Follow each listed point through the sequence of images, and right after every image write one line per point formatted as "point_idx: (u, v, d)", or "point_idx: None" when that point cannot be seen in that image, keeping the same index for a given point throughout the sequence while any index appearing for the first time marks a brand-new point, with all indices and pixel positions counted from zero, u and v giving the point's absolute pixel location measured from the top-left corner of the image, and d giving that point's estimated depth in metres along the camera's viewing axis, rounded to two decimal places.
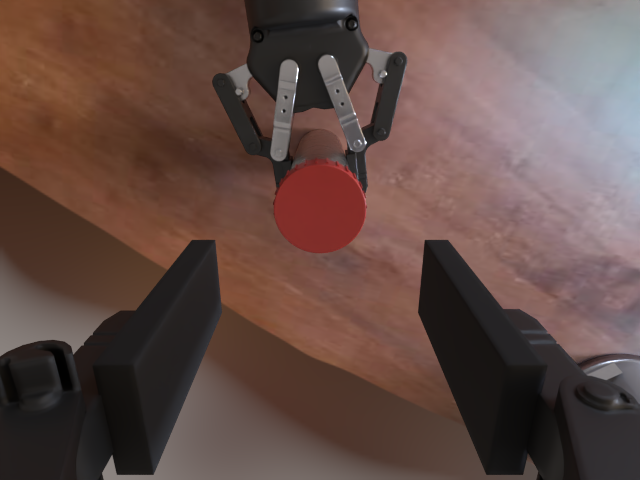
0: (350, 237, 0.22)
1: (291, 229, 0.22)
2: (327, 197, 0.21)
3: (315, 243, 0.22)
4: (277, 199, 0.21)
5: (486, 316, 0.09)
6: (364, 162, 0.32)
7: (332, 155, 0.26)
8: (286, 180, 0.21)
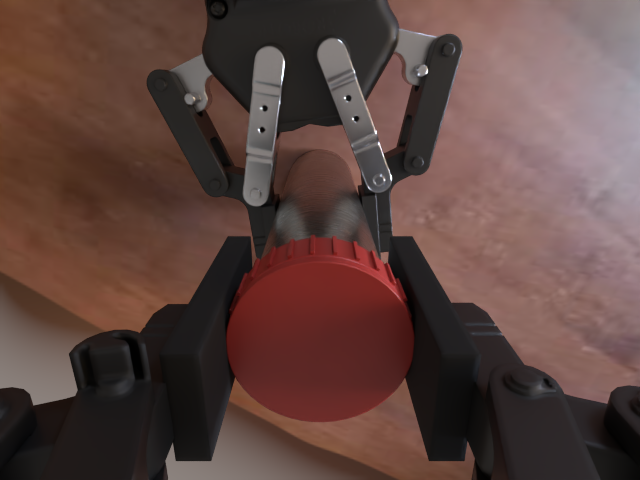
0: (381, 395, 0.11)
1: (262, 381, 0.11)
2: (335, 324, 0.10)
3: (312, 406, 0.11)
4: (232, 327, 0.10)
5: (432, 308, 0.10)
6: (388, 207, 0.21)
7: (342, 212, 0.15)
8: (249, 292, 0.10)
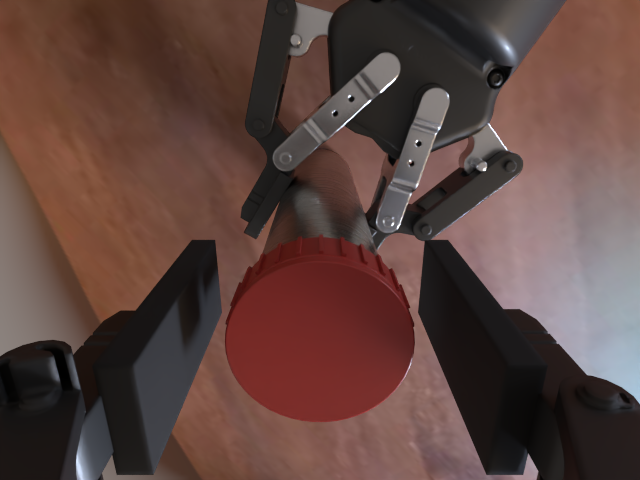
0: (404, 323, 0.10)
1: (326, 405, 0.11)
2: (302, 324, 0.10)
3: (376, 382, 0.11)
4: (260, 399, 0.11)
5: (486, 316, 0.09)
6: (376, 246, 0.22)
7: (370, 234, 0.15)
8: (234, 372, 0.11)
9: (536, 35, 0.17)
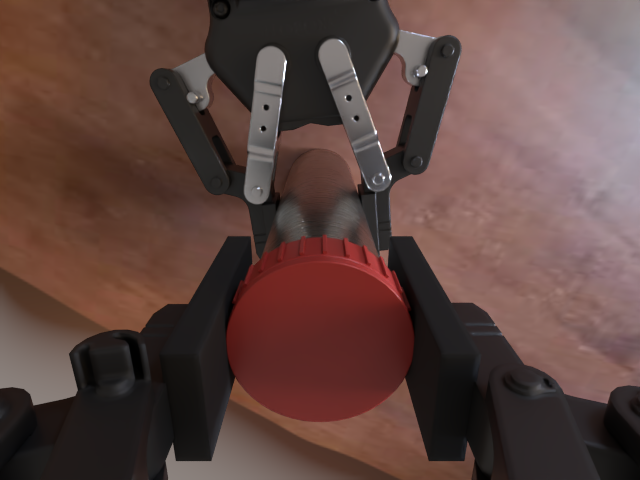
0: (370, 282, 0.10)
1: (368, 390, 0.11)
2: (289, 339, 0.10)
3: (392, 345, 0.11)
4: (311, 418, 0.11)
5: (432, 308, 0.10)
6: (387, 206, 0.21)
7: (342, 210, 0.15)
8: (271, 409, 0.11)
9: None
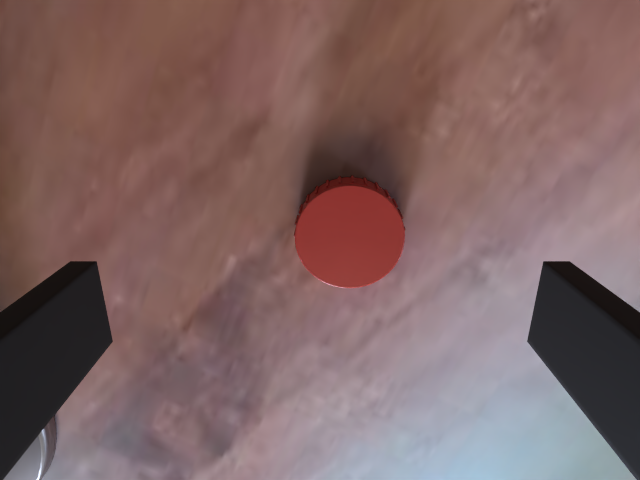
0: (378, 198, 0.18)
1: (377, 267, 0.19)
2: (332, 233, 0.18)
3: (391, 237, 0.18)
4: (343, 285, 0.19)
5: None
6: None
7: None
8: (320, 278, 0.19)
9: None
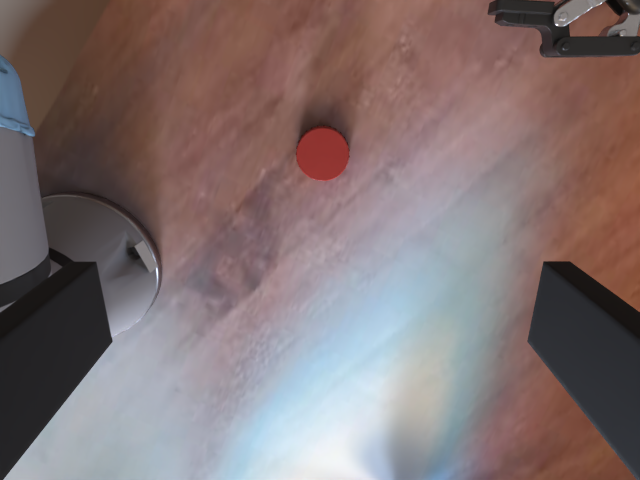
0: (336, 134, 0.37)
1: (336, 169, 0.39)
2: (314, 152, 0.38)
3: (342, 154, 0.38)
4: (320, 179, 0.39)
5: None
6: (535, 23, 0.29)
7: None
8: (308, 176, 0.39)
9: None
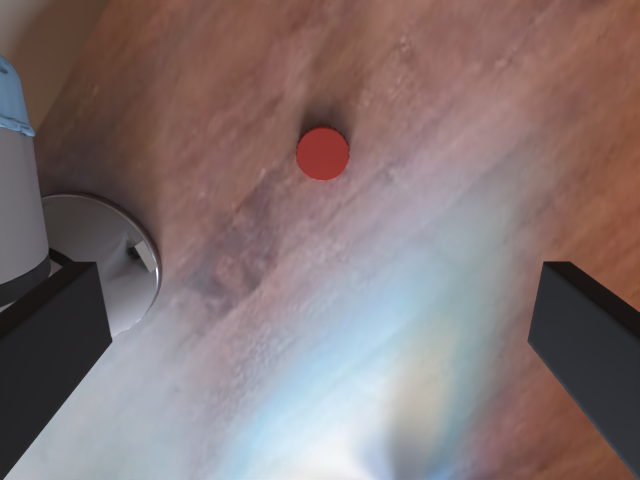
0: (336, 134, 0.37)
1: (336, 169, 0.39)
2: (314, 152, 0.38)
3: (342, 154, 0.38)
4: (320, 179, 0.39)
5: None
6: None
7: None
8: (308, 176, 0.39)
9: None
